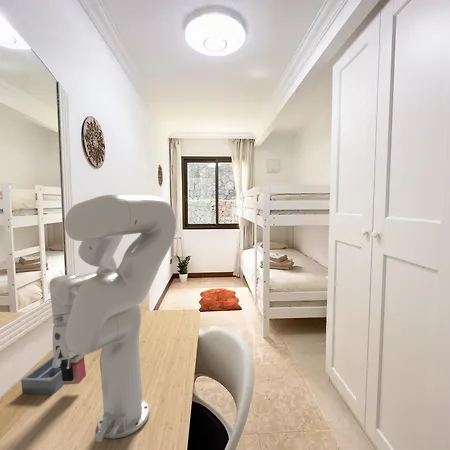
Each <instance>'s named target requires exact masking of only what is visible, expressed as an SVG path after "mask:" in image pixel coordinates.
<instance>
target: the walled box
mask: <svg viewBox="0 0 450 450" xmlns="http://www.w3.org/2000/svg"><path fill="white" fill-rule="evenodd" d="M53 360H54V355H52V356H51V357H50V358H48V360H46V361H44V363H42V364H41V365H39V366H38V367H37V368H35V369H34V370H31V372H29V373H28V374H27V375H25V376H24V377H23V378H22V379H20V382H21V391H22V394H23V395H41V396H42V395H44V396H46V395H47V396H53V395H54V394H55V393H56V392H57V391H58V390H59V389H60V388H61V387H63V386H64V385H63V382H62V372H61V369H59V368H58V367H55V366H52V363H53ZM53 374H55V375H53ZM51 375H52V377H50V376H51Z"/></svg>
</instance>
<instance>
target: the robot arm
mask: <svg viewBox="0 0 450 450" xmlns="http://www.w3.org/2000/svg"><path fill="white" fill-rule="evenodd" d="M64 228H65V232H66V235H67V236H68V237H69V238H70V239H72V240H74V241H77V242H81V243H80V244H79V246H78V251H77V252H78V256H79V257H80V259H81V260H82V261H83V262H84V263H86V264H87V265H90V266H93V267H97V269H96V271H94V272H90V273H89V272H88V273H84V274H81V275H75V274H65V275H59V276H55V277H53V278H52V279H50V280H49V283H48V285H49V287H48V288H49V294H50V303H51V312H52V324H53V326H52V350H53V351H52V352H53V356H54V360H53V363H52V366H55V367H58V368H59V369H61V372H62V380H63V381H72V380H73V379H74V378H73V368H72V367H70V366H71V358H73V357H74V356H75V355H76V354H77V355H84V357H86V356H87V355H90V354H92V353H94V352H97V351H100V350H101V351H100V357H99V365H100V366H99V368H100V379H101V393H102V405H103V412H101V414H100V416H99V417H98V420H97V433H96V434H95V435H94V440H95V441H96V442H98V443H101V442H102V441H103V440H104V438H108V439H119V438H120V439H121V438H124V437H127V436H130V435H132V434H133V433H135V432H137V431H138V430H139V429H141V428H142V426H144V424H146V422H147V420H148V419H149V415H150V406H149V403H148V402H147V401H146V400H144V399H143V390H142V389H143V388H142V373H141V360H140V359H141V357H140V354H141V353H140V333H141V332H140V331H141V323H142V310H141V307H140V306H139V305H140V304H142V303H144V301H145V299H146V298H147V296H148V293H149V292H150V290H151V287H152V285H153V283H154V280H156V277H157V275H158V272H159V269H160V267H161V265H162V263H163V261H164V259H165V257H167V256H166V255H167V253H168V252H169V250H170V248H171V247H172V245H173V242H174V239H175V236H176V231H177V230H176V229H177V222H176V215H175V212H174V210H173V208H172V206H171V205H170V204H169V202H167V200H165V199H163V198H162V197H158V196H152V195H144V194H140V195H138V194H105V195H100V196H97V197H94V198H91V199H86V200H84V201H81V202H78V203H76V204H74V205H73V206H71V208H70V209H69V210H68V212H67V213H66V215H65V220H64ZM134 234H136V235H137V234H139V235H138V237H137V238H135V240H134V241H133V242H131V244H130V245H129V246H128V247H127V249H126V251H125V252H124V254H123V257H122V260H121V261H120V264H119V266H118V267H117V263H116V260H115V258H114V255H115V253H116V251H117V249H118V246H120V243H121V241H122V239H123V237H124V236H127V235H128V236H129V235H134ZM64 360H66V363H65V362H64Z"/></svg>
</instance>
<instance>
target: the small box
mask: <svg viewBox="0 0 450 450" xmlns="http://www.w3.org/2000/svg"><path fill="white" fill-rule="evenodd" d="M64 362H65V363H66V360H64ZM70 367H72V368H73V378H74V379H73V380H72V381H63V380H62V382H63V386H65V385H66V386H67V385H79V384H80V382H82V381H83V380H84V378H85V377H87V373H86V364H85V356H84V355H77V354H76V355H75V356H74V357H73V358H71V366H70Z"/></svg>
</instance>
